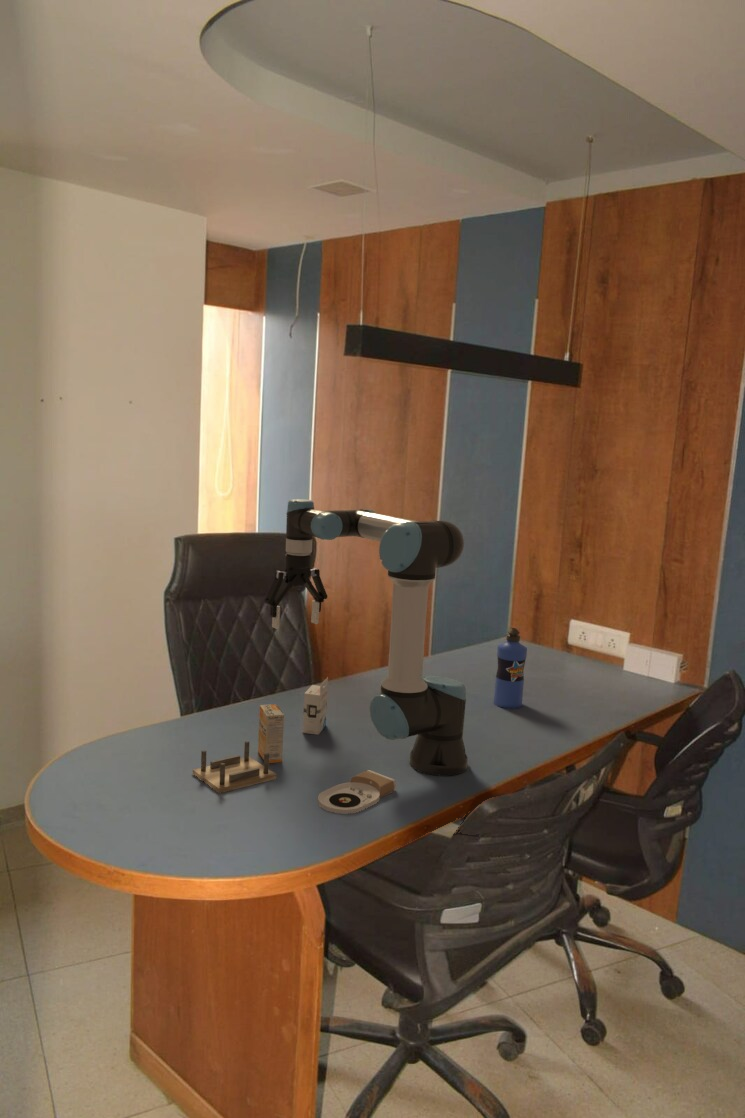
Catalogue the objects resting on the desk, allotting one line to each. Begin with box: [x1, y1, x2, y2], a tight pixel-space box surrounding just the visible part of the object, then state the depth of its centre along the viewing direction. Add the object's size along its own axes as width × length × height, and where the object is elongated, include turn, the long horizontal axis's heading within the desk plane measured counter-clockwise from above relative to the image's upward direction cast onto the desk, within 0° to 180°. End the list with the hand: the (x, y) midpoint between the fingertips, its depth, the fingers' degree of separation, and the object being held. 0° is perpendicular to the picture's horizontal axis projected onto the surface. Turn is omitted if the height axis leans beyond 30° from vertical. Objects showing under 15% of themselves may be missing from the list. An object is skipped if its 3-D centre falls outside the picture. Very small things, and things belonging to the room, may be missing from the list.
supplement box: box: [257, 703, 285, 764], centre depth 231 cm, size 8×5×13 cm, turn 21°
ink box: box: [302, 676, 329, 735], centre depth 253 cm, size 9×5×15 cm, turn 168°
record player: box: [317, 769, 397, 815], centre depth 211 cm, size 12×3×20 cm
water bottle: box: [493, 627, 528, 710], centre depth 284 cm, size 9×9×25 cm
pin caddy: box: [192, 740, 277, 794], centre depth 218 cm, size 13×16×6 cm
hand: (295, 625), depth 258 cm, fingers open, 13 cm apart
